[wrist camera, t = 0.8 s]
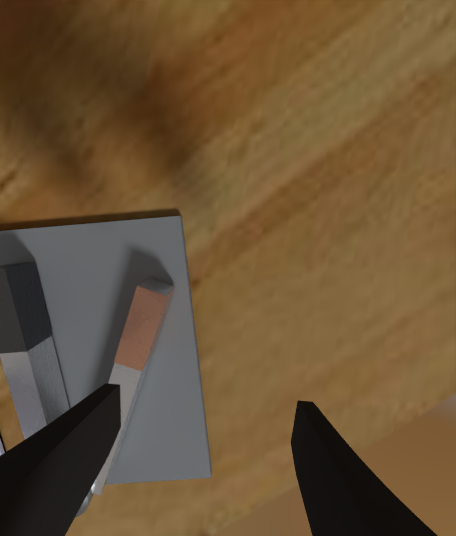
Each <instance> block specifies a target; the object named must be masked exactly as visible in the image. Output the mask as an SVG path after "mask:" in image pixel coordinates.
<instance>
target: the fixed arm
mask: <svg viewBox="0 0 456 536" xmlns="http://www.w3.org/2000/svg"><path fill="white" fill-rule="evenodd" d="M52 335H53V334H52V330H51V326H50V322H49V318H48V314H47V309H46V305H45V301H44V297H43V293H42V289H41V285H40V281H39V277H38V273H37V268H36V264H35V262H28V263H16V264H6V265H1V266H0V358H1V361H2V365H3V368H4V371H5V375H6V378H7V381H8V385H9V388H10V392H11V395H12V398H13V402H14V405H15V408H16V412H17V415H18V419H19V422H20V425H21V429H22V432H23V436H24V439H27V438H28V437H30V436H31V435H33V434H34V433H36V432H37V431H39V430H40V429H42V428H43V427H45V426H46V425H48V424H49V423H51V422H52V421H54V420H55V419H56V418H58V417H59V416H61V415H62V414H63V413H65V412H66V411H68V410H69V409H70V408H69V404H68V400H67V396H66V392H65V388H64V384H63V380H62V375H61V371H60V367H59V363H58V359H57V355H56V351H55V347H54V343H53V339H52Z"/></svg>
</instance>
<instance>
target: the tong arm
mask: <svg viewBox="0 0 456 536" xmlns="http://www.w3.org/2000/svg"><path fill="white" fill-rule="evenodd" d="M174 289H175V286H173V285H170V284H168V283H165V282H162V281H159V280H156V279H153V278H150V277H149V278H147V279H146V280H145V281H143V282H142V283H140V284H139V285H137V288H136V291H135V294H134V297H133V301H132V304H131V307H130V311H129V314H128V317H127V320H126V324H125V327H124V330H123V333H122V337H121V340H120V343H119V347H118V350H117V353H116V356H115V360H114V366H113V369H112V373H111V376H110V379H109V382H108V384H120V401H121V428H120V430H119V433H118V435H117V438H116V440H115V442H114V445H113V447H112V449H111V452H110V454H109V456H108V458H107V460H106V462H105V464H104V465H103V467H102V469H101V471H100V473H99V475H98V476H97V478H96V480H95V482H94V484H93V485H92V487H91V489H90V491H89V493H88V495H87V496H86V498H85V500H84V502H83V504H82V505H81V507H80V509H79V511H78V513H77V514H76V516H75V517H77V516H79V515H81V514H82V513H84V511H85V510H86V508H87V506H88V504H89V502H90V500H91V498H92V496H93V494H97V495H101V493H102V491H103V488H104V486H105V484H106V482H107V480H108V478H109V476H110V473H111V471H112V469H113V467H114V465H115V462H116V459H117V456H118V453H119V450H120V447H121V444H122V441H123V438H124V435H125V432H126V429H127V426H128V423H129V420H130V417H131V414H132V411H133V408H134V405H135V402H136V399H137V396H138V393H139V390H140V388H141V385H142V382H143V379H144V376H145V373H146V370H147V367H148V364H149V361H150V358H151V355H152V353H153V351H154V348H155V345H156V342H157V339H158V336H159V333H160V330H161V327H162V324H163V321H164V319H165V316H166V313H167V310H168V307H169V304H170V301H171V298H172V295H173V292H174Z"/></svg>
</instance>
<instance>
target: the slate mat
mask: <svg viewBox="0 0 456 536" xmlns="http://www.w3.org/2000/svg"><path fill="white" fill-rule="evenodd" d="M28 262H35V264H36V268H37V273H38V277H39V281H40V285H41V289H42V293H43V297H44V301H45V305H46V309H47V314H48V318H49V322H50V326H51V330H52V334H53V335H52V339H53V343H54V347H55V351H56V355H57V359H58V363H59V367H60V371H61V375H62V380H63V384H64V388H65V392H66V396H67V400H68V404H69V408H72V407H73V406H75V405H76V404H77V403H79V402H80V401H81V400H83V399H84V398H86V397H87V396H88V395H90V394H91V393H92V392H94V391H95V390H96V389H98V388H99V387H101V386H102V385H104V384H105V383H108V382H109V379H110V376H111V373H112V369H113V366H114V360H115V356H116V353H117V350H118V347H119V343H120V340H121V337H122V333H123V330H124V327H125V324H126V320H127V317H128V314H129V311H130V307H131V304H132V301H133V297H134V294H135V291H136V288H137V285H139V284H140V283H142V282H143V281H145V280H146V279H147V278H149V277H150V278H153V279H156V280H159V281H162V282H165V283H168V284H170V285H173V286H175V289H174V292H173V295H172V298H171V301H170V304H169V307H168V310H167V313H166V316H165V319H164V321H163V324H162V327H161V330H160V333H159V336H158V339H157V342H156V345H155V348H154V351H153V353H152V355H151V358H150V361H149V364H148V367H147V370H146V373H145V376H144V379H143V382H142V385H141V388H140V390H139V393H138V396H137V399H136V402H135V405H134V408H133V411H132V414H131V417H130V420H129V423H128V426H127V429H126V432H125V435H124V438H123V441H122V444H121V447H120V450H119V453H118V456H117V459H116V462H115V465H114V467H113V469H112V471H111V473H110V476H109V478H108V480H107V482H106V484H120V483H135V482H151V481H167V480H182V479H198V478H211V475H212V469H211V460H210V452H209V443H208V435H207V427H206V418H205V410H204V401H203V393H202V384H201V376H200V367H199V359H198V350H197V342H196V333H195V325H194V316H193V308H192V299H191V291H190V282H189V274H188V265H187V257H186V248H185V240H184V231H183V223H182V216H171V217H160V218H148V219H136V220H124V221H113V222H101V223H89V224H77V225H66V226H54V227H42V228H30V229H19V230H7V231H0V266H1V265H6V264H16V263H28Z"/></svg>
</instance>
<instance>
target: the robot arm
mask: <svg viewBox="0 0 456 536" xmlns="http://www.w3.org/2000/svg"><path fill="white" fill-rule="evenodd" d="M120 428H121V401H120V384H108V383H105V384H104V385H102V386H101V387H99V388H98V389H96V390H95V391H94V392H92V393H91V394H90V395H88V396H87V397H86V398H84V399H83V400H81V401H80V402H79V403H77V404H76V405H75V406H73V407H72V408H70V409H69V410H68V411H66V412H65V413H63V414H62V415H61V416H59V417H58V418H56V419H55V420H54V421H52V422H51V423H49V424H48V425H46V426H45V427H43V428H42V429H40V430H39V431H37V432H36V433H34V434H33V435H31V436H30V437H28V438H27V439H25V440H24V441H22V442H21V443H19V444H18V445H16V446H15V447H13V448H12V449H10V450H9V451H7V452H4V449H3V445H2V442H1V439H0V536H65V534H66V532H67V531H68V529H69V527H70V525H71V523H72V522H73V520H74V518H75V516H76V514H77V513H78V511H79V509H80V507H81V505H82V504H83V502H84V500H85V498H86V496H87V495H88V493H89V491H90V489H91V487H92V485H93V484H94V482H95V480H96V478H97V476H98V475H99V473H100V471H101V469H102V467H103V465H104V464H105V462H106V460H107V458H108V456H109V454H110V452H111V449H112V447H113V445H114V442H115V440H116V438H117V435H118V433H119V430H120ZM291 447H292V453H293V459H294V465H295V471H296V475H297V479H298V483H299V487H300V491H301V495H302V498H303V502H304V506H305V510H306V513H307V517H308V521H309V524H310V528H311V532H312V535H313V536H437V535H436V534H435V533H434V532H433V531H432V530H431V529H430V528H429V527H428V526H426V525H425V524H424V523H423V522H422V521H421V520H420V519H419V518H418V517H417V516H416V515H415V514H414V513H413V512H412V511H411V510H410V509H409V508H408V507H407V506H405V505H404V504H403V503H402V502H401V501H400V500H399V499H398V498H397V497H396V496H395V495H394V494H393V493H392V492H391V491H390V490H389V489H388V488H387V487H386V486H385V485H384V484H383V482H382V481H381V480H380V479H379V478H378V477H377V476H376V475H375V474H374V473H373V472H372V471H371V470H370V469H369V468H368V467H367V466H366V464H365V463H364V462H363V461H362V460H361V459H360V458H359V457H358V455H357V454H356V453H355V452H354V451H353V450H352V448H351V447H350V446H349V445H348V444H347V443H346V442H345V440H344V439H343V438H342V437H341V436H340V434H339V433H338V432H337V431H336V430H335V428H334V427H333V426H332V425H331V423H330V422H329V421H328V420H327V419H326V417H325V416H324V415H323V414H322V412H321V411H320V410H319V409H318V407H317V406H316V405H315V404H314V403H313V402H308V401H298V402H297V408H296V414H295V420H294V426H293V432H292V438H291Z"/></svg>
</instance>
